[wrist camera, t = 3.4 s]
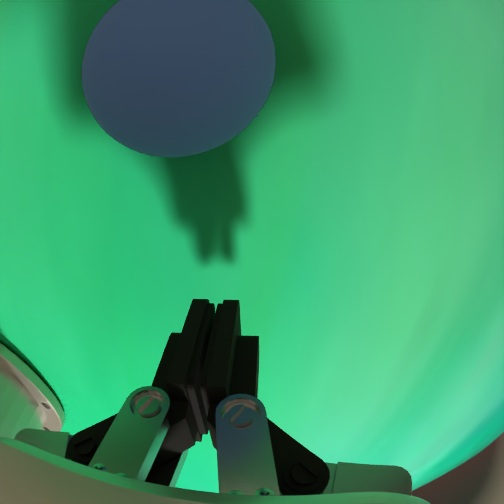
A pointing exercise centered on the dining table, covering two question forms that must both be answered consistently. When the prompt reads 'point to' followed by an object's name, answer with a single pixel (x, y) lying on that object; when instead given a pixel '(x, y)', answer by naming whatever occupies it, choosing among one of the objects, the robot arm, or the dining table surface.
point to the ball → (178, 73)
